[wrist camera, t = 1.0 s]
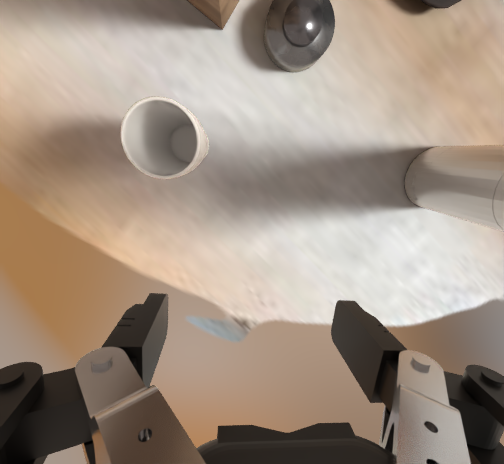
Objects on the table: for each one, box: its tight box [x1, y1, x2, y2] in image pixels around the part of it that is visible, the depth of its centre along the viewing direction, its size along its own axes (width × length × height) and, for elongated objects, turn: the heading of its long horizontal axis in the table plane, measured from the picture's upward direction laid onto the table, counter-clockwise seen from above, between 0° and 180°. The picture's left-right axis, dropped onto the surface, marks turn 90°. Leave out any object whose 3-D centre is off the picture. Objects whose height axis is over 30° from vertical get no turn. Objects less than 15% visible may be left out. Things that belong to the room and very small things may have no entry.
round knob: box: [264, 0, 335, 72], centre depth 31 cm, size 8×8×4 cm
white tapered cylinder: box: [120, 96, 209, 179], centre depth 29 cm, size 7×7×15 cm
